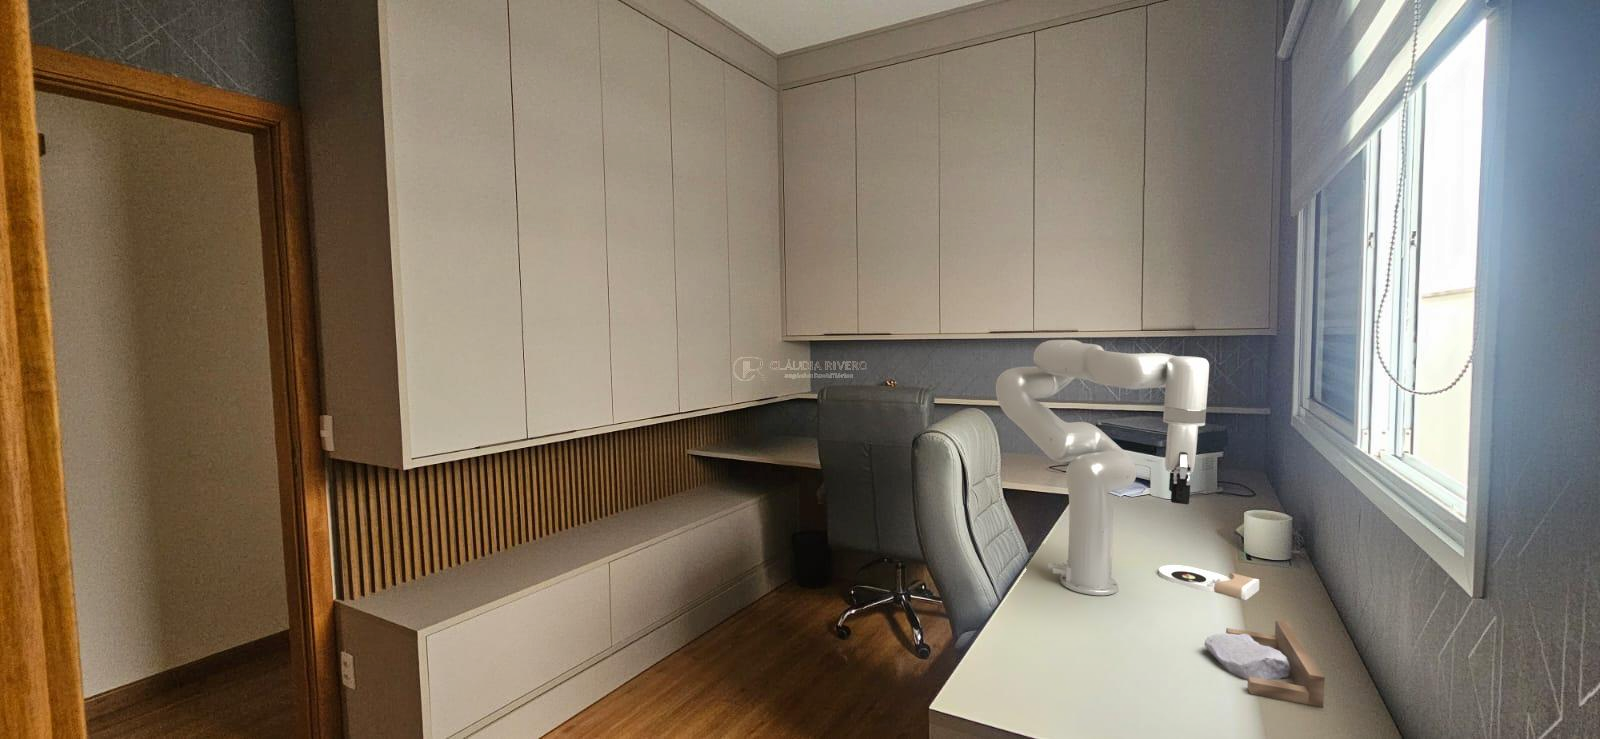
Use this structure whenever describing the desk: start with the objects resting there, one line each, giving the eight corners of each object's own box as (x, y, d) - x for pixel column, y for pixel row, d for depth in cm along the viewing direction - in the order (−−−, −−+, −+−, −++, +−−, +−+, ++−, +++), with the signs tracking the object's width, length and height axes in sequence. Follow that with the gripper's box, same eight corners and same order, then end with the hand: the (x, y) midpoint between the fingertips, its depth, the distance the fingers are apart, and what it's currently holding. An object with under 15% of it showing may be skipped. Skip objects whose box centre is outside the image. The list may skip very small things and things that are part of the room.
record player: (1243, 589, 149) (1150, 566, 165) (1243, 603, 149) (1150, 578, 165) (1261, 577, 157) (1170, 555, 172) (1260, 590, 157) (1170, 567, 172)
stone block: (1246, 693, 116) (1296, 678, 117) (1241, 667, 115) (1292, 652, 117) (1196, 661, 127) (1243, 648, 129) (1192, 637, 127) (1238, 624, 128)
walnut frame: (1250, 693, 112) (1251, 664, 112) (1225, 637, 132) (1227, 613, 132) (1323, 707, 108) (1324, 677, 108) (1286, 647, 128) (1288, 622, 128)
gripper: (1162, 409, 147) (1157, 485, 149) (1165, 420, 132) (1159, 505, 133) (1201, 412, 144) (1196, 490, 145) (1209, 424, 128) (1202, 511, 130)
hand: (1178, 497), depth 139 cm, fingers open, 9 cm apart
